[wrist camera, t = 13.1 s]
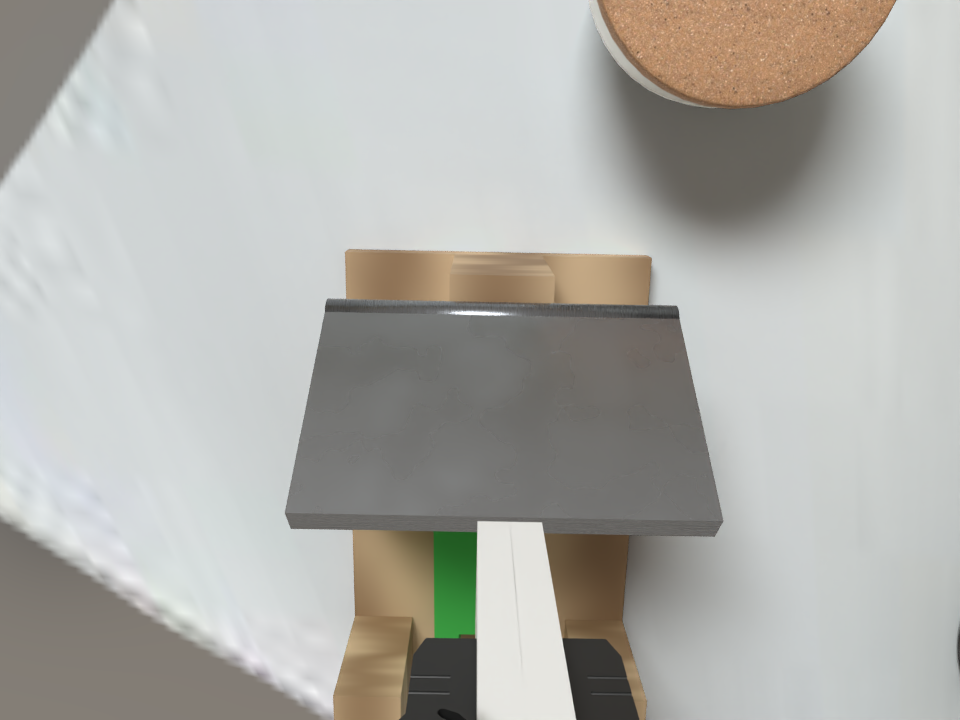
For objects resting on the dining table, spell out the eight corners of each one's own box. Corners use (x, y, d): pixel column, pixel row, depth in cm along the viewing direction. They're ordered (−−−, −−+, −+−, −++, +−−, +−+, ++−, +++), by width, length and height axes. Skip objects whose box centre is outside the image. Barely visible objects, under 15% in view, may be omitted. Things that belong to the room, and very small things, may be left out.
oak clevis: (647, 255, 35) (687, 279, 28) (614, 657, 41) (641, 756, 34) (348, 249, 35) (317, 271, 28) (359, 652, 41) (335, 751, 34)
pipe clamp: (510, 629, 39) (514, 691, 35) (439, 629, 39) (434, 690, 35) (514, 431, 36) (519, 471, 32) (437, 430, 36) (432, 470, 32)
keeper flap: (669, 320, 29) (675, 299, 28) (713, 538, 23) (724, 519, 22) (332, 313, 29) (328, 291, 28) (291, 530, 23) (284, 511, 22)
